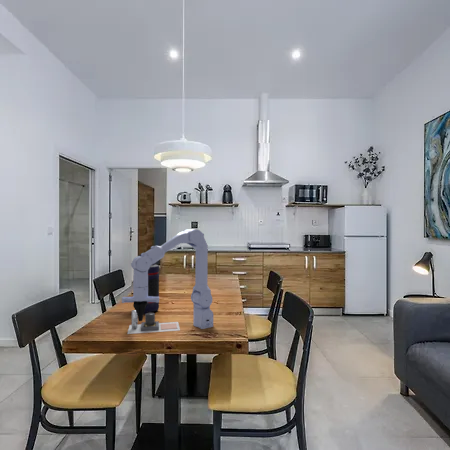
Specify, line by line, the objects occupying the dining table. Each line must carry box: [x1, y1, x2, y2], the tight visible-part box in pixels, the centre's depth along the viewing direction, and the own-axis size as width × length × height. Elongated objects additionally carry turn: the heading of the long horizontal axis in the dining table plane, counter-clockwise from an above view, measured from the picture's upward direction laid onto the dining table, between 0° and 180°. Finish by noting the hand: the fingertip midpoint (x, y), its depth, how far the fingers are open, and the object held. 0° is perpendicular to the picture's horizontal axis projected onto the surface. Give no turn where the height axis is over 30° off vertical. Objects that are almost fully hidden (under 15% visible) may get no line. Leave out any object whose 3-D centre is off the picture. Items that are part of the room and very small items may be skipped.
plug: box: [144, 312, 156, 326], centre depth 138 cm, size 4×4×6 cm
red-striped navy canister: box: [138, 254, 160, 315], centre depth 168 cm, size 14×12×30 cm
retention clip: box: [131, 309, 139, 329], centre depth 131 cm, size 13×2×8 cm, turn 18°
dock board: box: [127, 320, 181, 335], centre depth 138 cm, size 22×12×2 cm, turn 103°
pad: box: [161, 323, 177, 330], centre depth 139 cm, size 7×7×1 cm
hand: (140, 320), depth 127 cm, fingers closed
